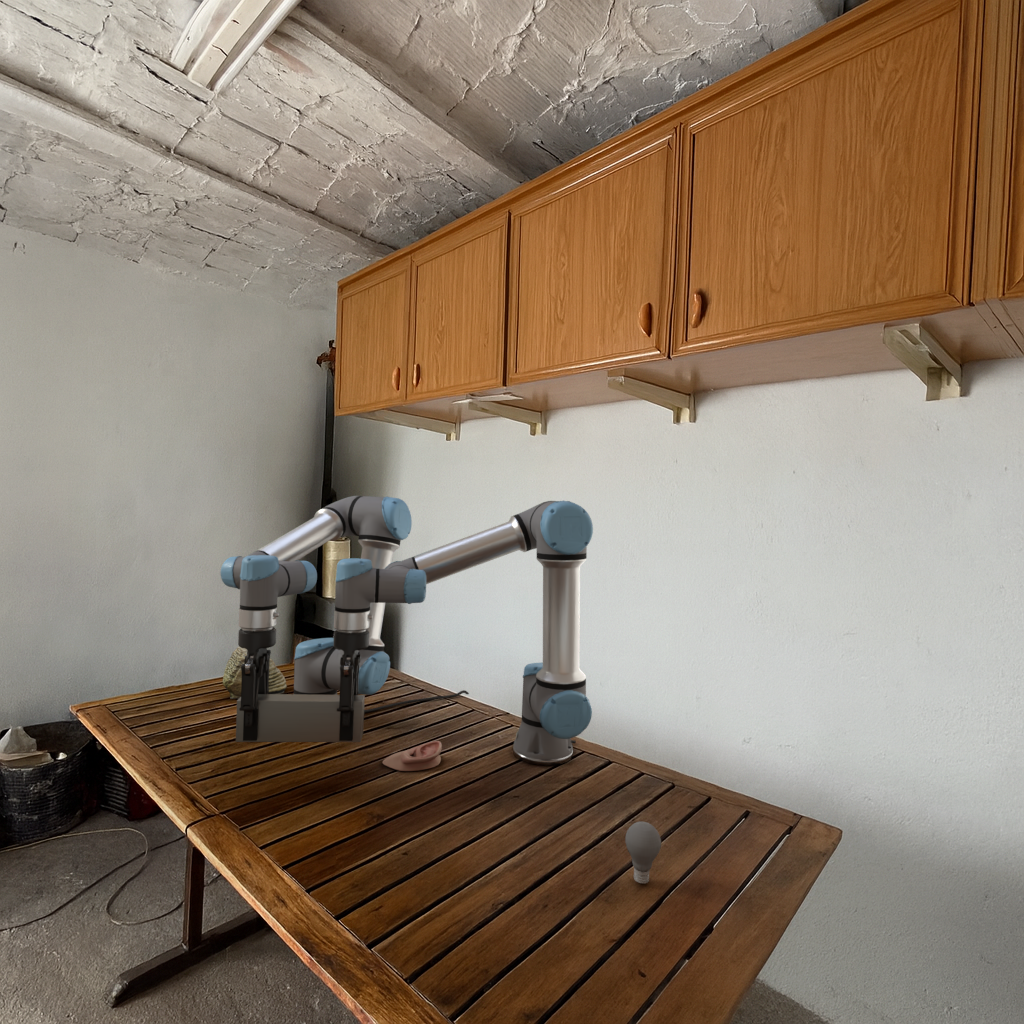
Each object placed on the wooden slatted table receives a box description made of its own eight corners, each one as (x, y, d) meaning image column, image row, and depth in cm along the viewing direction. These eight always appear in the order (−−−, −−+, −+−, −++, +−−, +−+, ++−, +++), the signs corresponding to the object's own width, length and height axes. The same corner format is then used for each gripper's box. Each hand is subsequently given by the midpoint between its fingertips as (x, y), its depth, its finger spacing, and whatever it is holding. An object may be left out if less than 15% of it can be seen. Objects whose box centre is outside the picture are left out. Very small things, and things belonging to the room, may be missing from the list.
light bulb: (619, 871, 111) (622, 814, 111) (652, 871, 112) (655, 814, 111) (628, 892, 105) (631, 832, 105) (663, 892, 106) (666, 832, 105)
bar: (235, 742, 134) (236, 700, 134) (242, 734, 138) (243, 693, 138) (360, 742, 137) (362, 701, 136) (363, 734, 141) (364, 694, 141)
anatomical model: (377, 751, 149) (396, 733, 160) (377, 767, 149) (395, 749, 160) (431, 758, 146) (446, 740, 157) (430, 775, 146) (445, 756, 157)
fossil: (218, 695, 195) (220, 647, 195) (278, 685, 208) (279, 640, 207) (228, 703, 189) (230, 653, 188) (289, 692, 201) (290, 645, 201)
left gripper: (264, 637, 128) (260, 751, 128) (285, 620, 145) (282, 720, 146) (225, 636, 127) (221, 751, 127) (251, 619, 144) (248, 720, 145)
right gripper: (364, 638, 130) (360, 751, 130) (373, 622, 147) (369, 721, 148) (326, 638, 129) (322, 751, 129) (340, 621, 147) (336, 721, 147)
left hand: (253, 735), depth 136 cm, fingers open, 5 cm apart
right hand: (347, 735), depth 139 cm, fingers closed on bar, 5 cm apart
